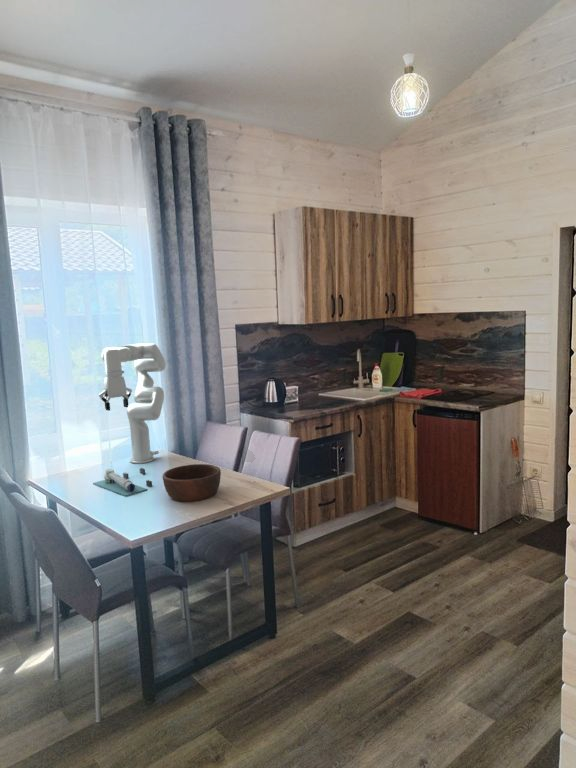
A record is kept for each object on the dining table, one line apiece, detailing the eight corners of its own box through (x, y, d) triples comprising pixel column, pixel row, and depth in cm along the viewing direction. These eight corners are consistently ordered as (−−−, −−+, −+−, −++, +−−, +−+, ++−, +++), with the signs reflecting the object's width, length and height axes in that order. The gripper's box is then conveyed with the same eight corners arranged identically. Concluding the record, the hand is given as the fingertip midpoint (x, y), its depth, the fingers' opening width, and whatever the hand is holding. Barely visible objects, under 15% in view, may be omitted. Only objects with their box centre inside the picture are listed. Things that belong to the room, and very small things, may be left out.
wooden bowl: (214, 482, 271) (212, 461, 270) (228, 498, 248) (227, 474, 247) (160, 491, 263) (158, 468, 261) (169, 508, 239) (167, 483, 238)
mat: (114, 478, 285) (114, 477, 285) (147, 490, 264) (147, 488, 264) (93, 484, 278) (92, 482, 278) (125, 496, 256) (125, 495, 256)
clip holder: (142, 472, 293) (141, 468, 292) (169, 481, 276) (168, 476, 276) (123, 477, 285) (122, 473, 285) (150, 487, 269) (149, 481, 268)
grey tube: (125, 484, 259) (101, 467, 277) (126, 498, 260) (102, 480, 278) (136, 481, 262) (112, 464, 280) (136, 495, 264) (112, 477, 282)
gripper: (126, 371, 294) (128, 405, 296) (93, 375, 282) (97, 410, 284) (133, 372, 288) (136, 406, 291) (101, 376, 276) (104, 412, 279)
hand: (117, 408), depth 287 cm, fingers open, 9 cm apart
